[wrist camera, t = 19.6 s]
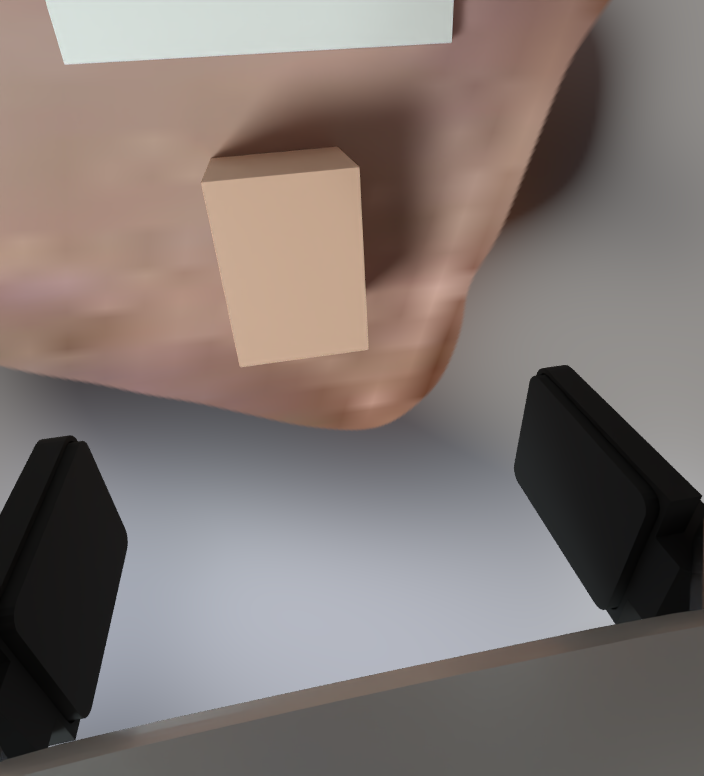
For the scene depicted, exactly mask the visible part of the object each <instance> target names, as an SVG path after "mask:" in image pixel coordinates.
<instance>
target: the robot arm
mask: <svg viewBox="0 0 704 776" xmlns="http://www.w3.org/2000/svg"><path fill="white" fill-rule="evenodd" d="M514 472H515V476H516V479H517V481H518V483H519V485H520V486H521V488H522V489H523V491H524V492H525V494H526V495H527V497H528V499H529V500H530V502H531V504H532V505H533V507H534V508H535V510H536V511H537V513H538V515H539V516H540V518H541V519H542V521H543V522H544V524H545V526H546V527H547V529H548V530H549V532H550V533H551V535H552V537H553V538H554V540H555V541H556V543H557V545H559V548H560V549H561V551H562V552H563V554H564V556H565V557H566V559H567V560H568V562H569V563H570V565H571V567H572V568H573V570H574V571H575V573H576V574H577V576H578V578H579V579H580V581H581V582H582V584H583V585H584V587H585V589H586V590H587V592H588V593H589V595H590V596H591V598H592V600H593V601H594V602H595V604H596V605H597V606H598V607H599V608H600V609H602V610H607V612H608V613H609V615H610V616H611V618H612V619H613V621H614V623H615V625H610V626H604V627H599V628H594V629H589V630H584V631H580V632H575V633H570V634H565V635H560V636H556V637H551V638H546V639H541V640H536V641H531V642H526V643H522V644H517V645H512V646H507V647H503V648H497V649H493V650H488V651H483V652H478V653H473V654H468V655H464V656H459V657H454V658H450V659H445V660H440V661H435V662H431V663H426V664H421V665H417V666H412V667H407V668H402V669H398V670H393V671H388V672H383V673H379V674H374V675H369V676H365V677H360V678H356V679H351V680H346V681H341V682H337V683H332V684H327V685H323V686H318V687H313V688H309V689H304V690H299V691H295V692H290V693H285V694H281V695H276V696H272V697H267V698H262V699H258V700H253V701H249V702H244V703H240V704H235V705H230V706H226V707H221V708H217V709H212V710H207V711H203V712H198V713H194V714H189V715H184V716H180V717H175V718H171V719H167V720H162V721H157V722H153V723H149V724H145V725H141V726H136V727H132V728H128V729H123V730H119V731H115V732H111V733H106V734H102V735H98V736H94V737H89V738H85V739H81V740H77V741H74V740H75V739H76V735H77V730H78V726H79V722H80V719H83V718H86V717H87V716H88V715H89V713H90V711H91V708H92V704H93V699H94V695H95V690H96V686H97V682H98V677H99V673H100V668H101V664H102V659H103V654H104V650H105V646H106V641H107V637H108V632H109V628H110V623H111V619H112V614H113V610H114V605H115V601H116V596H117V592H118V587H119V582H120V578H121V573H122V569H123V565H124V560H125V555H126V551H127V546H128V545H127V544H128V541H127V533H126V530H125V527H124V525H123V523H122V521H121V518H120V516H119V514H118V512H117V509H116V507H115V505H114V503H113V500H112V498H111V496H110V494H109V492H108V489H107V487H106V485H105V482H104V480H103V478H102V476H101V474H100V472H99V469H98V467H97V465H96V462H95V460H94V458H93V456H92V453H91V451H90V449H89V447H88V445H87V443H86V442H84V441H79V442H78V441H77V439H76V438H75V437H73V436H63V437H56V438H49V439H42V440H39V441H38V442H37V444H36V445H35V447H34V449H33V451H32V453H31V455H30V457H29V459H28V461H27V463H26V465H25V467H24V469H23V471H22V473H21V475H20V476H19V478H18V480H17V482H16V484H15V486H14V488H13V490H12V492H11V494H10V496H9V498H8V500H7V502H6V504H5V506H4V508H3V510H2V512H1V514H0V776H704V503H702V501H701V500H700V499H701V497H702V495H701V494H700V493H699V492H698V491H697V490H696V489H695V488H694V487H692V485H690V483H689V482H688V481H687V480H685V478H684V477H682V476H681V475H680V474H679V473H678V472H677V471H676V470H675V469H674V468H673V467H672V466H671V465H670V464H669V463H668V462H667V461H666V460H665V459H664V458H663V457H662V456H661V455H660V454H659V453H658V452H657V451H656V450H655V449H654V448H653V447H652V446H651V445H650V444H649V443H647V441H646V440H645V439H644V438H643V437H641V436H640V435H639V434H638V433H637V432H636V431H635V430H634V429H633V428H632V427H631V426H630V425H629V424H628V423H627V422H626V421H625V420H624V419H623V418H622V417H621V416H620V415H619V414H618V413H617V412H616V411H615V410H614V409H613V408H612V407H611V406H610V405H609V404H608V403H607V402H606V401H605V400H604V399H602V397H601V396H600V395H599V394H598V393H597V392H596V391H594V390H593V389H592V388H591V387H590V386H589V385H588V384H587V383H586V382H585V381H584V380H583V379H582V378H581V377H580V376H579V375H578V374H577V373H576V372H575V371H574V370H573V369H572V368H571V367H569V366H568V365H562V366H554V367H547V368H542V369H540V370H539V371H538V372H537V375H536V376H533V377H532V378H531V379H530V383H529V388H528V393H527V399H526V404H525V410H524V415H523V420H522V426H521V431H520V437H519V442H518V447H517V453H516V459H515V464H514ZM641 619H642V620H641ZM69 741H72V742H69ZM64 742H68V743H64ZM59 743H64V744H59ZM54 744H59V745H56V746H52V747H49V748H48V746H50V745H54Z"/></svg>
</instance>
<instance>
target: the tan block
mask: <svg viewBox="0 0 704 776" xmlns="http://www.w3.org/2000/svg"><path fill="white" fill-rule="evenodd" d="M201 185H202V190H203V194H204V199H205V204H206V209H207V213H208V218H209V223H210V228H211V232H212V237H213V242H214V247H215V251H216V256H217V261H218V266H219V270H220V275H221V280H222V285H223V289H224V294H225V299H226V303H227V308H228V313H229V318H230V322H231V327H232V332H233V337H234V341H235V346H236V351H237V356H238V360H239V365H240V367H245V366H252V365H260V364H267V363H274V362H282V361H289V360H296V359H304V358H311V357H318V356H326V355H333V354H340V353H348V352H355V351H362V350H368V330H367V309H366V289H365V269H364V249H363V229H362V209H361V189H360V169H359V166H358V165H357V164H356V163H354V162H353V161H352V160H351V159H350V158H349V157H348V156H347V155H346V154H345V153H344V152H343V151H342V150H341V149H340V148H338V147H327V148H317V149H306V150H295V151H284V152H273V153H262V154H251V155H241V156H230V157H219V158H211V159H210V162H209V164H208V167H207V169H206V172H205V174H204V176H203V179H202V181H201Z"/></svg>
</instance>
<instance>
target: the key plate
mask: <svg viewBox="0 0 704 776" xmlns="http://www.w3.org/2000/svg"><path fill="white" fill-rule="evenodd" d="M45 1H46V4H47V8H48V11H49V14H50V17H51V21H52V24H53V27H54V31H55V34H56V37H57V41H58V44H59V47H60V51H61V54H62V57H63V61H64V64H87V63H105V62H122V61H140V60H158V59H175V58H193V57H211V56H229V55H246V54H264V53H282V52H299V51H317V50H335V49H352V48H370V47H388V46H406V45H423V44H441V43H452V25H453V4H454V0H45Z"/></svg>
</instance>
